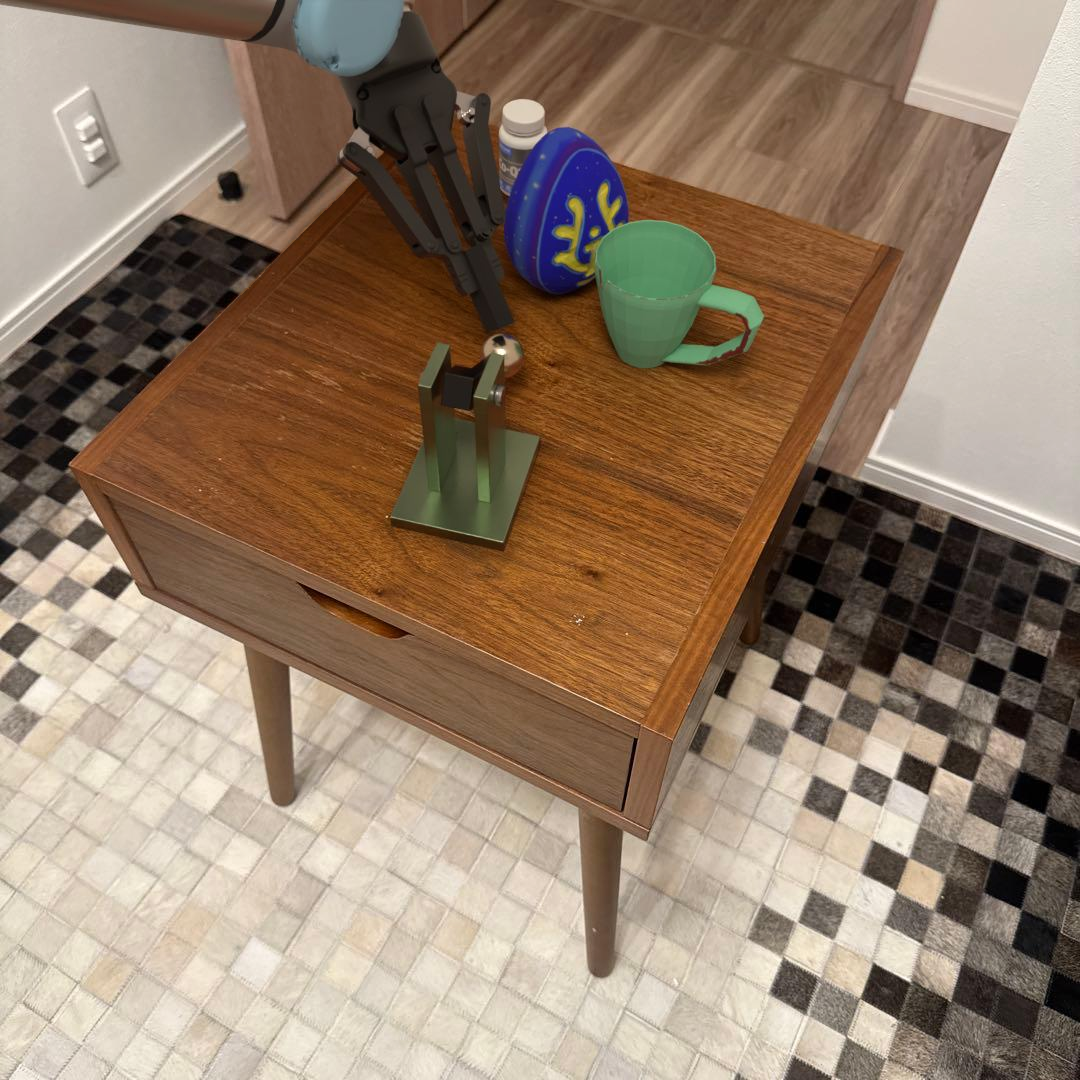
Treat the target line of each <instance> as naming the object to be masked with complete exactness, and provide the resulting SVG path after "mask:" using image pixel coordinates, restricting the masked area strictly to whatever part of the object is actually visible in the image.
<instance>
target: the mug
mask: <svg viewBox="0 0 1080 1080" xmlns="http://www.w3.org/2000/svg"><path fill="white" fill-rule="evenodd" d="M716 272H717V257H716V254H715V251H714V250H713V249H712V245H711V244H710V243H709V242H708V241H706V239H704V238H703V237H702V236H701V235H700V234H699V233H698V232H696V231H694V230H692V229H690V228H688V227H687V226H684V225H682V224H678V223H674V222H670V221H666V220H656V219H654V220H653V219H643V220H636V221H630V222H629V221H628V223H626V224H624V225H621V226H619V227H616V228H614V229H612V230H611V231H610V232H609V233H607V234H606V235H605V236H604V237H602V239H601V240H600V242H599V244H598V246H597V248H596V251H595V276H596V278H595V281H596V286H597V291H598V296H599V302H600V308H601V312H602V316H603V319H604V323H605V326H606V329H607V332H608V335H609V337H610V340H611V342H612V344H613V346H614V348H615V351H616V354H617V355H618V357H619V358H620V360H622V362H624V363H625V364H627V365H628V366H630V367H634V368H638V369H653V368H657V367H659V366H661V365H663V364H665V363H672V364H673V363H674V364H684V365H695V366H710V365H714V364H716V363H718V362H722V361H725V360H727V359H730V358H733V357H735V356H739V355H742V354H744V353H746V352H748V351H749V349H750V348H751V346H752V344H753V342H754V340H755V337H756V335H757V333H758V331H759V329H760V327H761V325H762V322H763V321H764V317H765V315H764V313H763V311H762V309H761V308H760V306H759V303H758V301H757V300H756V298H755V296H753V295H750V294H749V293H745V292H744V291H743V292H742V291H740V290H737V289H732V288H728V287H724V286H719V285H714V284H713V282H714V279H715V276H716ZM701 307H702V308H707V309H713V310H716V311H721V312H722V311H723V312H726V313H728V314H731V315H732V316H735V317H737V318H739V319H741V321H742V322H743V325H744V327H745V329H744V332H743V333H740V334H739V335H737V336H734V337H733V338H732V339H729V340H727V341H725V342H723V343H721V344H718V345H703V344H702V345H701V344H684V343H682V342H683V340H684V339H685V337H686V336H687V334H688V332H689V331H690V329H691V328H692V326H693V324H694V321H695V319H696V317H697V315H698V313H699V310H700V308H701Z"/></svg>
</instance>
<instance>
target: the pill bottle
mask: <svg viewBox="0 0 1080 1080" xmlns="http://www.w3.org/2000/svg"><path fill="white" fill-rule="evenodd" d="M545 117H546V111H545V108H544V107H543V105H541V103H539V102H537V101H536V100H532V99H526V98H525V99H524V98H519V99H514V100H512V101H508V102H507V103H506V104H505V105H504V106H503V108H502V119H501V123H502V124H501V125H500V127H499V129H498V178H499V183H500V188H501V193H503V194H504V195H505V196H508V197H509V196H510V193H511V190H512V187H513V184H514V182H515V180H516V178H517V175H518V173H519V171H520V169H521V167H522V165H523V163H524V161H525V160H526V158H527V156H528V154H529V153H530V151H531V150H532V149H533V147H534V146H535V144H536V143H537V142H538V141H539V140H540V139H541V138H542V137H543V136H544V135H546V134H547V133H548V132H549V131H548V129H547V127H546V125H545V124H546V123H545V122H546V118H545Z"/></svg>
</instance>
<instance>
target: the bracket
mask: <svg viewBox="0 0 1080 1080" xmlns="http://www.w3.org/2000/svg"><path fill="white" fill-rule="evenodd" d="M451 354H452V353H451V344H450V343H445V342H438V341H437V342H436V344H435V345H434V348H433V350H432V353H430V356H429V359H428V361H427V363H426V366H425V368H424V369H422V371H421V373H420V376H419V381H418V383H417V391H418V401H419V410H420V417H421V418H420V421H421V429H422V442H421V444H420V446H419V449H418V451H417V453H416V456H415V458H414V461H413V462H412V465H411V467H410V470H409V472H408V475H407V477H406V479H405V481H404V483H403V486H402V488H401V491H400V493H399V495H398V498H397V499H396V502H395V505H394V507H393V508H392V511H391V514H390V516H389V519H390V525H391V527H395V528H399V529H403V530H408V531H412V532H417V533H421V534H425V535H430V536H435V537H438V538H444V539H448V540H452V541H457V542H460V543H465V544H470V545H474V546H479V547H482V548H483V547H484V548H488V549H492V550H495V551H501V552H504V551H505V548H506V546H507V543H508V540H509V537H510V535H511V531H512V528H513V525H514V522H515V520H516V516H517V514H518V511H519V508H520V505H521V502H522V500H523V496H524V494H525V491H526V488H527V485H528V482H529V479H530V476H531V474H532V470H533V467H534V465H535V462H536V458H537V456H538V452H539V450H540V447H541V436H540V435H537V434H532V433H527V432H522V431H517V430H513V429H508V428H506V392H507V389H506V382H505V381H506V380H505V379H506V378H505V365H504V355H500V354H495V353H491V354H490V357H489V359H488V362H487V364H486V367H485V369H484V372H483V374H482V376H481V379H480V381H479V384H478V386H477V389H476V391H475V394H474V396H473V399H474V408H473V416H474V417H473V418H474V419H473V421H470V420H465V419H460V418H456V417H455V408H451V407H447V406H442V405H441V396H442V388H443V380H444V373H445V372H446V371H448V370H449V369H450V368H452V355H451Z"/></svg>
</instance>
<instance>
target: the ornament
mask: <svg viewBox="0 0 1080 1080" xmlns="http://www.w3.org/2000/svg"><path fill="white" fill-rule="evenodd" d="M547 132H548V133H547V134H546V135H544V136H543V137H542V138H541V139H540V140H539V141H538V142H537V143H536V144H535V146H534V147H533V149H532V150H531V151H530V153H529V154H528V156H527V158H526V160H525V161H524V163H523V165H522V167H521V169H520V171H519V173H518V175H517V178H516V180H515V182H514V184H513V187H512V190H511V193H510V196H508V199H507V203H506V207H505V214H506V219H505V222H504V223H503V236H504V237H503V238H504V244H505V248H506V252H507V254H508V256H509V259H510V261H511V264H512V265H513V267H514V268H515V269H516V271H517V272H518V274H519V275H520V276H521V277H522V278H523V279H525V281H527V282H528V283H529V284H530V285H532V286H534V287H535V288H536V289H539V290H540V291H543V292H547V293H550V294H552V295H563V294H567V293H571V292H573V291H575V290H578V289H580V288H583V287H584V286H586V285H587V284H589V283H590V282H592V281H594V280H596V276H595V251H596V248H597V246H598V244H599V242H600V240H601V239H602V237H604V236H605V235H606V234H607V233H609V232H610V231H611V230H612V229H614V228H616V227H619V226H621V225H624V224H626V223H629V219H630V207H629V202H628V195H627V192H626V189H625V186H624V184H623V180H622V178H621V175H620V174H619V171H618V169H617V168H616V165H615V164H614V163H613V161H612V159H611V158H610V156H609V154H607V152H606V151H605V150H604V149H603V148H602V147H601V146H600V145H599V144H598V143H597V142H596V141H595V140H594V139H593V138H591V137H590V136H589V135H587V134H586V133H584V132H582V131H581V130H578V129H577V128H575V127H574V128H573V127H570V126H563V127H562V126H559V127H556V128H554V129H552V130H549V131H547Z"/></svg>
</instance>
